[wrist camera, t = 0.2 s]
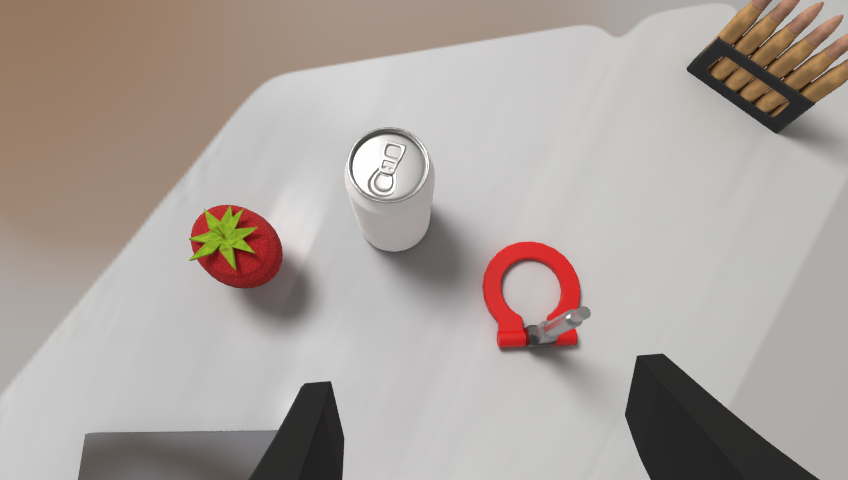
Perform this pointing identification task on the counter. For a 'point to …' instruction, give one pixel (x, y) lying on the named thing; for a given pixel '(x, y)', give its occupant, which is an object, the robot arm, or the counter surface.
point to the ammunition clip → (772, 63)
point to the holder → (173, 455)
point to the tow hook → (558, 321)
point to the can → (390, 187)
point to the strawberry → (236, 246)
